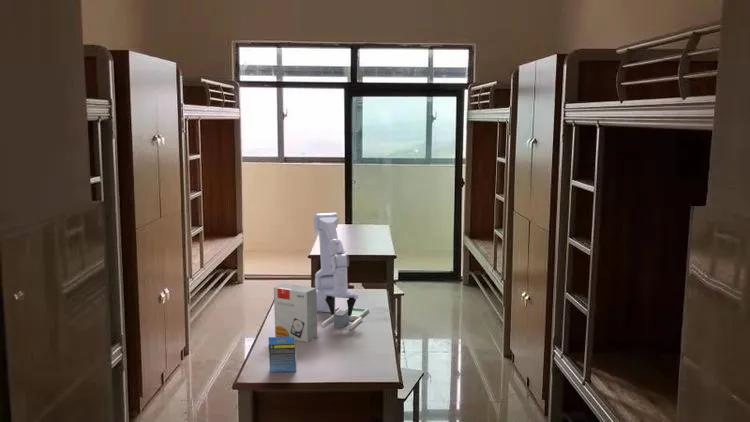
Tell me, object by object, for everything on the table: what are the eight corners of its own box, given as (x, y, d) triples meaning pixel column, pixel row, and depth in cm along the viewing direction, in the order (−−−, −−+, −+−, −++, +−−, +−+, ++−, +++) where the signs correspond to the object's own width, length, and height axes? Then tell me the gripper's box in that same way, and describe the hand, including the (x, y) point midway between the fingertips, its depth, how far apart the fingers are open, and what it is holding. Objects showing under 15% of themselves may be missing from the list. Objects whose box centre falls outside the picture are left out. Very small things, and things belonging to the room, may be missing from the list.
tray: (337, 317, 282) (337, 314, 282) (347, 310, 293) (347, 306, 293) (359, 319, 279) (359, 316, 278) (368, 311, 290) (368, 308, 290)
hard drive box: (274, 337, 258) (272, 287, 255) (285, 331, 265) (284, 283, 262) (307, 342, 251) (306, 291, 248) (318, 336, 257) (317, 287, 255)
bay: (322, 326, 270) (322, 321, 270) (333, 318, 281) (333, 313, 281) (351, 329, 266) (351, 324, 266) (361, 320, 277) (361, 316, 277)
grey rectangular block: (333, 326, 270) (333, 314, 269) (340, 321, 277) (339, 310, 276) (342, 327, 269) (342, 315, 268) (349, 322, 275) (348, 311, 275)
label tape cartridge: (297, 367, 225) (295, 332, 224) (296, 371, 221) (294, 336, 220) (270, 368, 225) (269, 333, 223) (269, 372, 221) (268, 337, 219)
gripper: (320, 283, 269) (321, 316, 271) (353, 286, 264) (354, 318, 266) (327, 279, 276) (328, 311, 277) (359, 282, 271) (360, 313, 273)
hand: (341, 314), depth 272 cm, fingers open, 7 cm apart
